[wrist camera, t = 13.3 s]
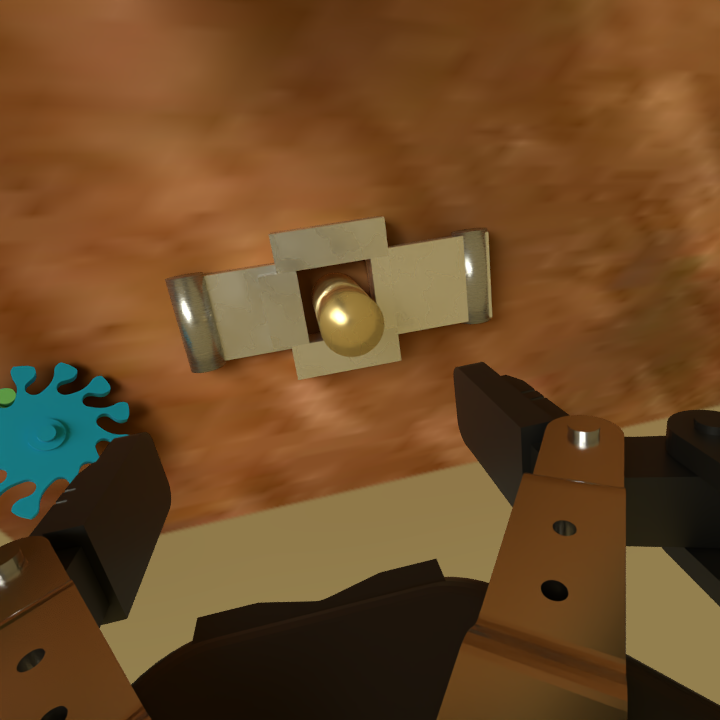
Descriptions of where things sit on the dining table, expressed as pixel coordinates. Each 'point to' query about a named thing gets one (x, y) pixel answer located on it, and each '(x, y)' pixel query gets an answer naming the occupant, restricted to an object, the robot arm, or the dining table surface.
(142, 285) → the dining table surface
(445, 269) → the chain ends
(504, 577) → the robot arm
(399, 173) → the dining table surface
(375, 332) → the pin
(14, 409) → the gear
